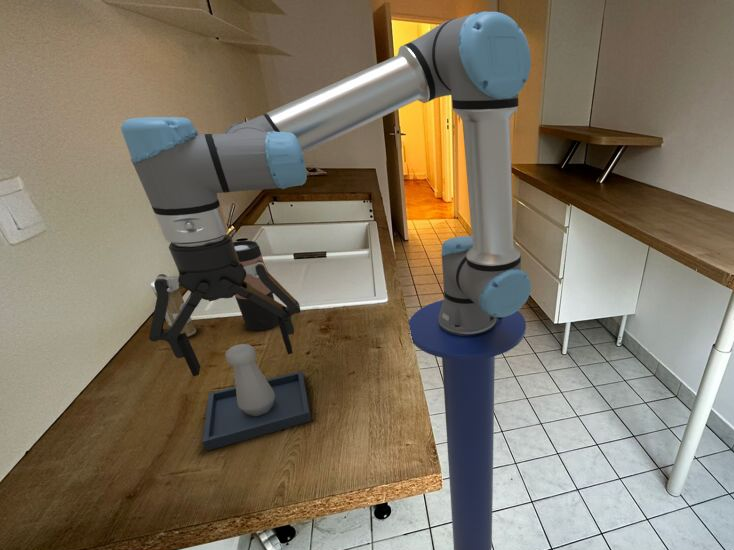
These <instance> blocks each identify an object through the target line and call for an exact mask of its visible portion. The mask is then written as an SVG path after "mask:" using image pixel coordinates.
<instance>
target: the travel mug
mask: <svg viewBox="0 0 734 550" xmlns="http://www.w3.org/2000/svg"><path fill="white" fill-rule="evenodd" d="M233 244H234V247H235V250H236V253H237V256H238V259H239V262H240V263H241V264H242V265H243V266H248V265H253V264H255V263H256V261H258V260H260V261H263V262H264V258H263V254H262V251H261V248H260V246H259V244H258V243H257V242H256V241H254V240H239V241H238V240H237V241H233ZM264 263H265V262H264ZM244 281H245V282H247V283H248V284H250V285H251V286H252V287H253V288H255V289H257V290H258V291H260V292H262V293H263V294H265V295H267V296H268V297H270V298H272V299H273V300H275V297H274V296H275V295H274V293H273V292H271V291H270V290H269V289H268V288H267V287H266V286H265V285H264V284H263V283H262V281H261V280H260V278H254V277H253V276H252V275H251V274H246V277H245V279H244ZM234 298H235V300H236V303H237V306H238V308H239V311H240V314H241V316H242V319H243V321H244V322H243V323H244V324H245V326H246V328H247V330H249V331H253V332H258V331H259V332H260V331H261V332H262V331H265V330H270V329H272V328H274V327H276V326H277V325H279V324H278V318H277V315H275V314H274V313H272V312H270V311H268V310H267V309H265V308H263V307H261V306H260V305H258V304H256V303H254V302H252V301H251V300H249V299H247V298H243V297H241V296H240V295H238V294H236V295H234Z"/></svg>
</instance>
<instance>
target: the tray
mask: <svg viewBox="0 0 734 550" xmlns="http://www.w3.org/2000/svg"><path fill="white" fill-rule="evenodd" d="M266 380H267V381H268V383H269V385H270V386H271V388H272V389H273V391H274V393H275V399H274V403H273V406H272V407H271V409H270V410H269V411H268V412H267V413H264V414H262V415H259V416H252V415H248V414H246V413H245V412H244V411H243V410H241V409H240V408H239V406H238V403H237V395H236V386H232V387H228V388H223V389H219V390H216V391H212V392H211V391H210V392H209V393H208V398H207V406H206V413H205V419H204V425H203V426H204V427H203V435H202V444H203V446H204V448H205V451H206V452H210V451H213V450H216V449H219V448H222V447H226V446H229V445H232V444H237V443H241V442H244V441H248V440H250V439H255V438H257V437H261V436H264V435H268V434H271V433H275V432H278V431H282V430H286V429H289V428H292V427H295V426H299V425H302V424H305V423H310V422H312V416H311V409H310V404H309V397H308V392H307V387H306V381H305V376H304V373H303V370H300V371H296V372H291V373H287V374H283V375H278V376H274V377H270V378H266Z"/></svg>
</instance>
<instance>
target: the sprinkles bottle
mask: <svg viewBox="0 0 734 550" xmlns="http://www.w3.org/2000/svg"><path fill="white" fill-rule="evenodd" d="M154 283H155V281H152V282H151V283H150V288H151V290H152V293H154V295H155V297H156V298H157V296H158V295H157V292H156V289H155V285H154ZM184 304H185V300H184V298H183V296H182V293H181V290H180V286H179V285H176V288H175V290H174V291H173V292H170V297H169V302H168V306H167V311H166V316H165V320H166V323H167V326H168V327H169V328H170V327H171V325H172V323H173V322H174V320H175V319H176V317H177V315H178V314H179V312H180V310H181V309H182V307H183V305H184ZM180 333H186V335H187V337H188V338H190V337H192V336H194V335H196V333H197V328H195V325H194V322H193V320H192V315H191V316H190V318H189V319H188V321H187V323H186V324H185V326H184V328H183V329H182V331H181V332H180Z"/></svg>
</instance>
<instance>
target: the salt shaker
mask: <svg viewBox="0 0 734 550" xmlns="http://www.w3.org/2000/svg"><path fill="white" fill-rule="evenodd" d="M224 356H225V360H226V363H227V364H228V365H229V366H231V367H232V369H233V370H232V371H233V377H234V383H235V384H234V386H235V387H236V395H237V403H238V406H239V408H240V409H241V410H243V411H244V412H245V413H246V414H248V415H252V416H259V415H262V414H264V413H267V412H268V411H269V410H270V409H271V407H272V406H273V403H274V399H275V393H274V391H273V389H272V388H271V386H270V385H269V383H268V381H267V380H266V379H267V378H266V377H265V375H264V374H263V372H262V370H261V369H260V367H259V365H258V364H257V362H256V361H255V360H256V358H257V351H256V349H255V347H254V346H253V345H252V344H251V345H250V344H249V343H241V344H236V345H233V346H231V347H230V348H228V349H227V350H226V351H225V353H224Z"/></svg>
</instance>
